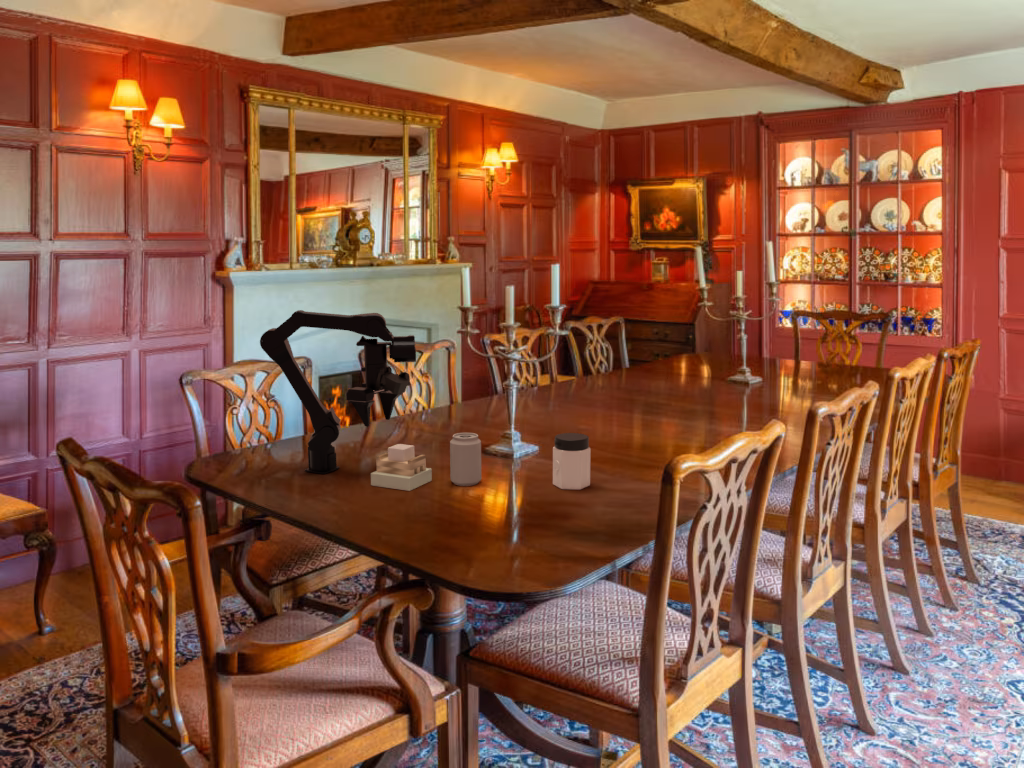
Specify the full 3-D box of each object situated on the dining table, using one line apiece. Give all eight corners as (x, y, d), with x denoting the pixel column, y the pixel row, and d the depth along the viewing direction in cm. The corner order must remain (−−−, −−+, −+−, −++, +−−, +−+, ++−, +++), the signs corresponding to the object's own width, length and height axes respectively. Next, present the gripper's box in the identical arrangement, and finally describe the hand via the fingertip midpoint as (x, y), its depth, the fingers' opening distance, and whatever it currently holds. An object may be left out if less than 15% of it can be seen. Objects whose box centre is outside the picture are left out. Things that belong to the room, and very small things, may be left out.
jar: (547, 482, 207) (547, 434, 205) (577, 478, 210) (577, 431, 208) (565, 492, 199) (565, 442, 197) (595, 487, 202) (595, 438, 200)
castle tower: (376, 471, 206) (376, 456, 205) (391, 465, 212) (391, 450, 211) (411, 476, 202) (411, 460, 201) (425, 470, 207) (425, 454, 207)
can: (481, 478, 211) (480, 431, 209) (481, 486, 204) (480, 437, 202) (451, 478, 211) (450, 431, 209) (450, 487, 203) (449, 438, 201)
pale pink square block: (388, 459, 205) (387, 447, 205) (398, 455, 209) (398, 443, 209) (404, 461, 203) (403, 449, 203) (414, 457, 207) (414, 445, 207)
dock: (371, 485, 205) (370, 473, 204) (394, 475, 214) (394, 463, 213) (409, 490, 200) (409, 478, 200) (431, 480, 209) (431, 468, 209)
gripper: (381, 369, 204) (382, 433, 207) (422, 360, 221) (423, 419, 223) (343, 366, 209) (345, 429, 212) (386, 357, 226) (388, 415, 228)
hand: (377, 423), depth 219 cm, fingers open, 9 cm apart
